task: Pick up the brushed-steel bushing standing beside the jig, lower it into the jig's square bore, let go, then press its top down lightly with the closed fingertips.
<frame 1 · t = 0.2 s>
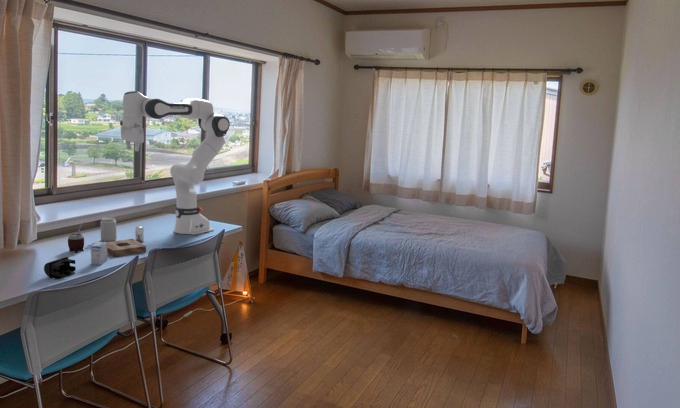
hand: (132, 150, 274), 47 cm above the table, tool pointing down, fingers open, 8 cm apart
mate gourd: (77, 251, 255), on the table
medicine box: (99, 262, 240), on the table
bushing: (139, 241, 277), on the table
can: (108, 241, 276), on the table
jig: (123, 250, 260), on the table
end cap: (60, 275, 221), on the table
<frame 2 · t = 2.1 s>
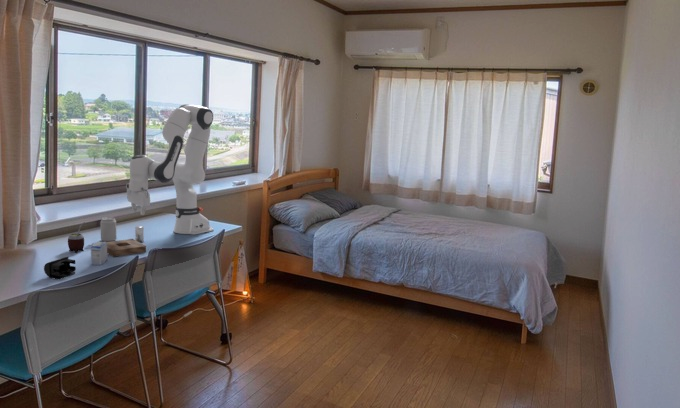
hand: (138, 213, 274), 15 cm above the table, tool pointing down, fingers open, 8 cm apart
nothing on the table moved.
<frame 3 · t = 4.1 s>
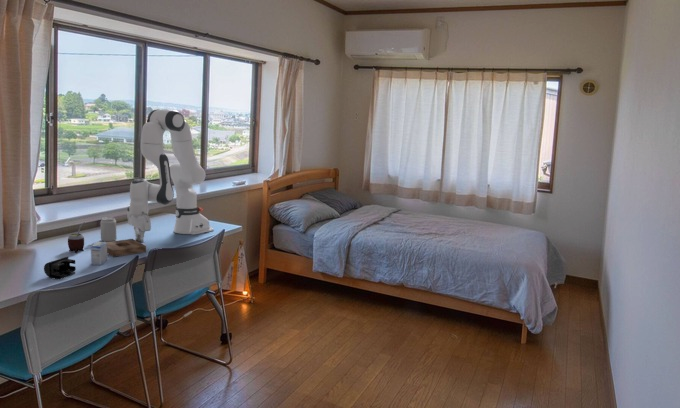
hand: (139, 236, 276), 3 cm above the table, tool pointing down, fingers closed on bushing, 4 cm apart
bushing: (139, 241, 277), on the table, touching gripper
everything else where it was.
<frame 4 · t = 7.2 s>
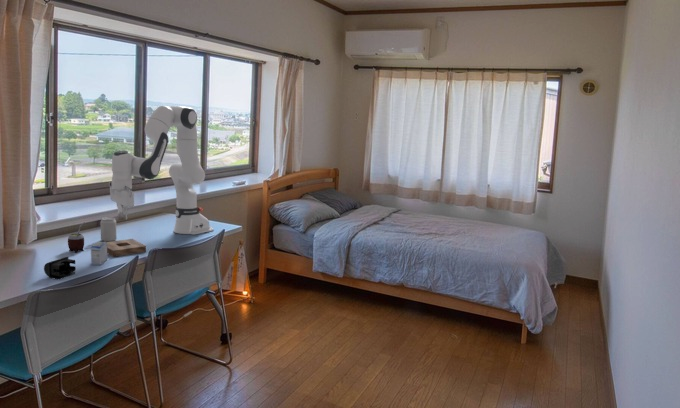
hand: (122, 212, 257), 19 cm above the table, tool pointing down, fingers closed on bushing, 4 cm apart
bushing: (122, 219, 257), point 16 cm above the table, touching gripper
everything else where it was.
when the fingers open (4 cm above the table, at t = 10.1 s): bushing stays where it is, resting in jig.
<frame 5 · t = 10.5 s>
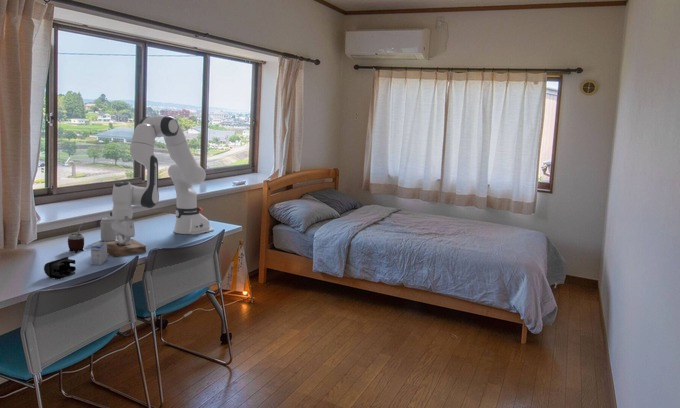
hand: (123, 242, 259), 4 cm above the table, tool pointing down, fingers open, 8 cm apart
bushing: (123, 250, 260), resting in jig
everything else where it was.
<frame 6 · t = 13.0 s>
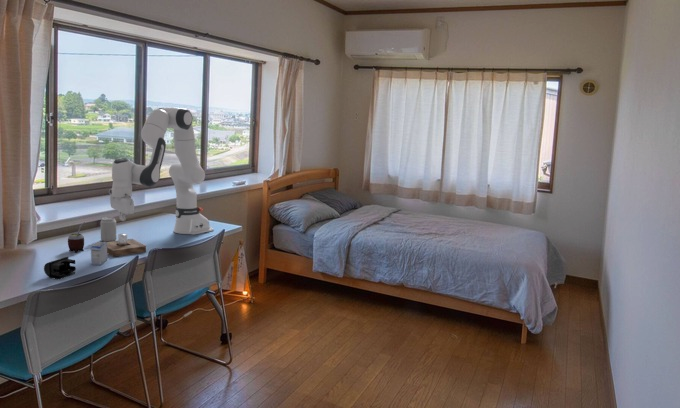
hand: (122, 220, 257), 15 cm above the table, tool pointing down, fingers closed
nothing on the table moved.
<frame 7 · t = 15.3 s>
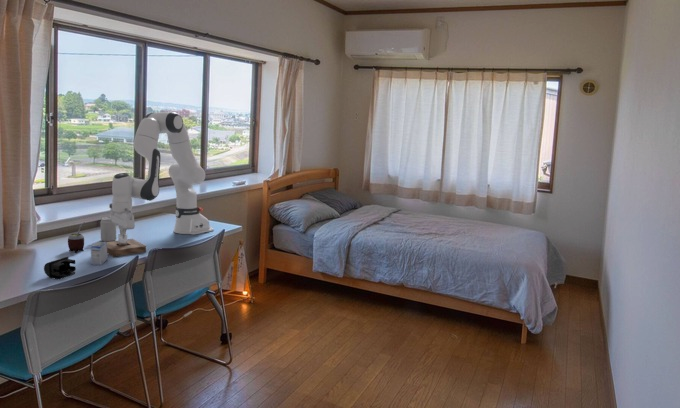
hand: (122, 234, 259), 8 cm above the table, tool pointing down, fingers closed, pressing on bushing
bushing: (123, 250, 260), resting in jig, touching gripper
everything else where it was.
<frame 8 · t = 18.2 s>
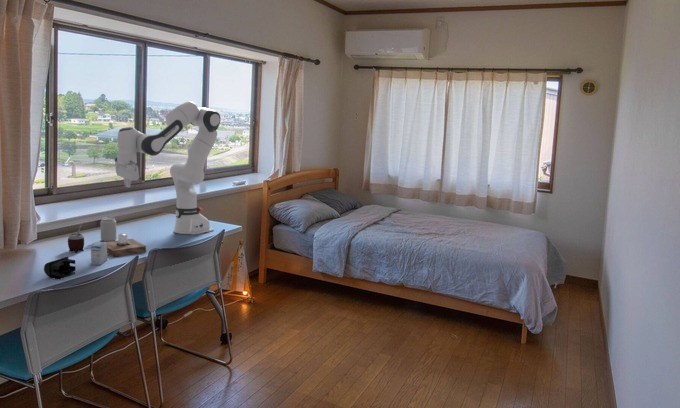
hand: (127, 186, 269), 29 cm above the table, tool pointing down, fingers closed
bushing: (123, 250, 260), resting in jig
everything else where it was.
at the end: bushing 0.1 cm off-centre on the jig, point 0.0 cm above the jig's base; bushing tilted 0°; the gripper is holding nothing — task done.
